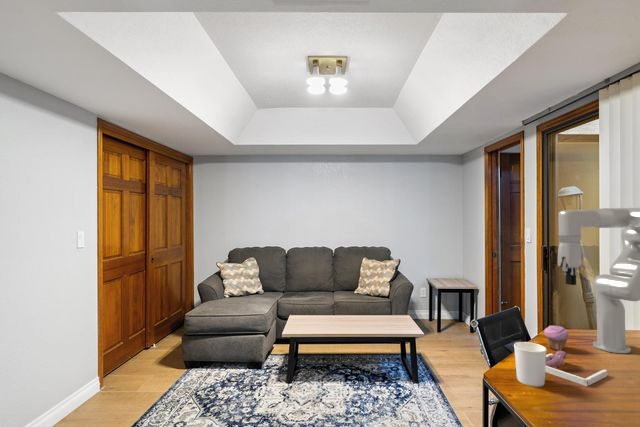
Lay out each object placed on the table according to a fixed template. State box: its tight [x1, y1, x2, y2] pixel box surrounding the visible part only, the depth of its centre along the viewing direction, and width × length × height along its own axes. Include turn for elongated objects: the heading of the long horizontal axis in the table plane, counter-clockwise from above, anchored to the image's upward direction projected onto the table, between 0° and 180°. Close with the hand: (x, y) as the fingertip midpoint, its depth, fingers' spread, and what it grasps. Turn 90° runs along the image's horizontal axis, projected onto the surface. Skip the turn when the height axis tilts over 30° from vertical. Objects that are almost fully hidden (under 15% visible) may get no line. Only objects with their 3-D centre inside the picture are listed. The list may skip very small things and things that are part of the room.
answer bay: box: [545, 353, 608, 387], centre depth 131 cm, size 15×19×2 cm
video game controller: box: [546, 350, 568, 369], centre depth 136 cm, size 10×5×7 cm, turn 137°
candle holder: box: [513, 341, 548, 388], centre depth 124 cm, size 10×10×12 cm
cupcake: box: [543, 325, 570, 351], centre depth 153 cm, size 9×9×10 cm
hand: (570, 284), depth 147 cm, fingers closed
